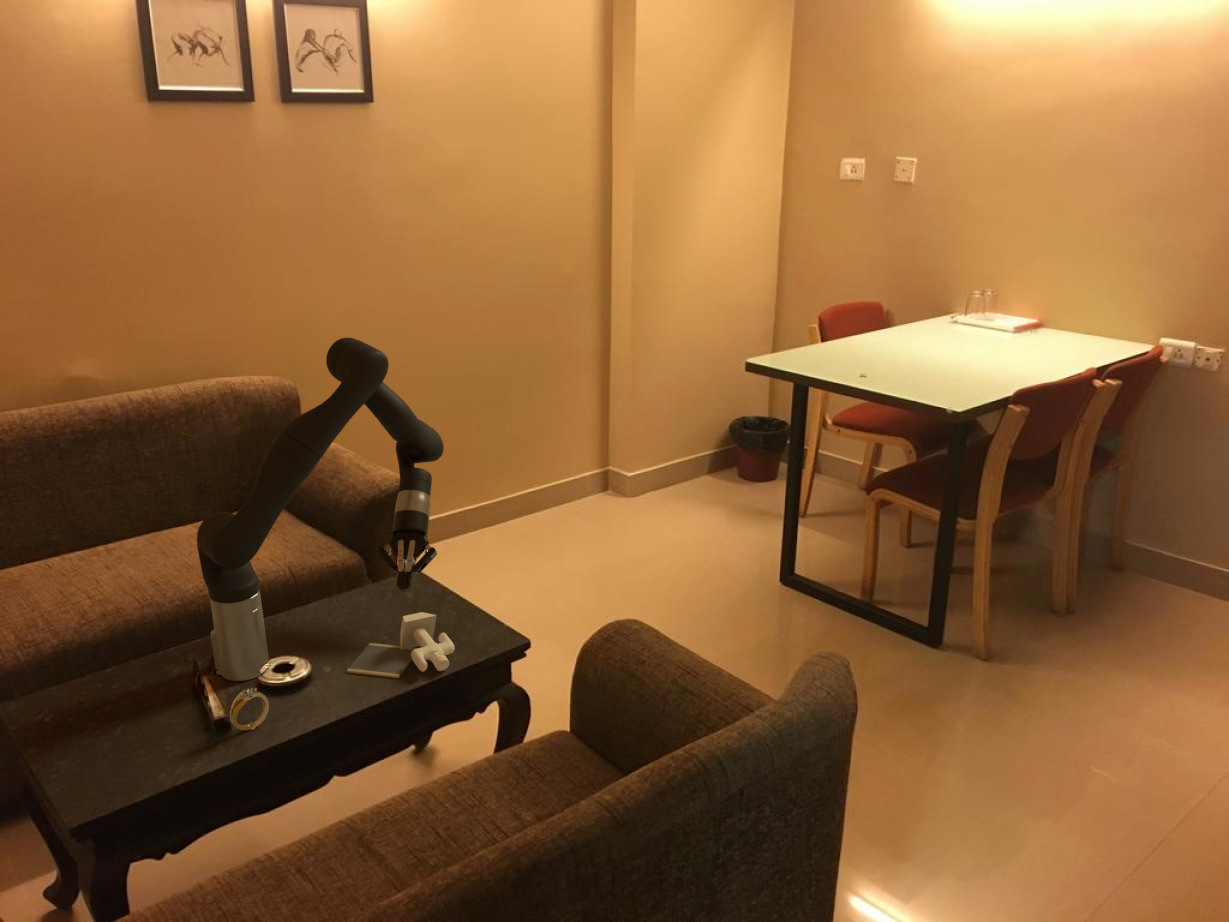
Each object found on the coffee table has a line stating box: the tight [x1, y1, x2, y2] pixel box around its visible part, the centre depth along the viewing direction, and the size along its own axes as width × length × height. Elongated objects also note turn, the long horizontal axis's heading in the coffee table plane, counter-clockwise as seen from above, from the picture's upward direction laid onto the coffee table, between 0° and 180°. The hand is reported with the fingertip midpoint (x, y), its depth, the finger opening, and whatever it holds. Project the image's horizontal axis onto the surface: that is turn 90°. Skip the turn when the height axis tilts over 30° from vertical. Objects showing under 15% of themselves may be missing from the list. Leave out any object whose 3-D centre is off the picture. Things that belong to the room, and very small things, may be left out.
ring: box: [229, 687, 270, 731], centre depth 177 cm, size 7×3×8 cm, turn 133°
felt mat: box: [346, 642, 419, 679], centre depth 200 cm, size 11×11×1 cm
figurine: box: [399, 611, 456, 673], centre depth 201 cm, size 7×9×15 cm
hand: (403, 590), depth 208 cm, fingers closed
